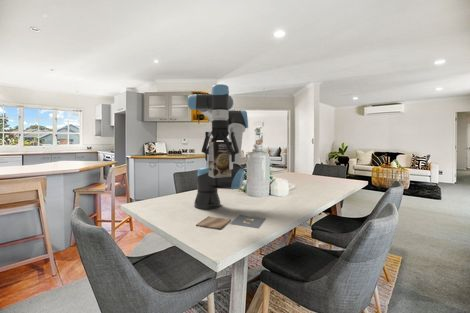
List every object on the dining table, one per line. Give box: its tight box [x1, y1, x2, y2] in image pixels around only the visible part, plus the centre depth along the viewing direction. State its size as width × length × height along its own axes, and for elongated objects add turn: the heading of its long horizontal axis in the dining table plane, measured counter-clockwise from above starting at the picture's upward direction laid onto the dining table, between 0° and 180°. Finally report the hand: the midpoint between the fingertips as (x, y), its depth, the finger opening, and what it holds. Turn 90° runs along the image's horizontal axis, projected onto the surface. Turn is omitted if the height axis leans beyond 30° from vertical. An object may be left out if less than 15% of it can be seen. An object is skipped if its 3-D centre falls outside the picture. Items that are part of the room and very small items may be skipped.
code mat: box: [229, 214, 267, 229], centre depth 112 cm, size 14×14×1 cm
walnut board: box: [195, 216, 232, 231], centre depth 109 cm, size 12×12×1 cm
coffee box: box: [208, 141, 232, 178], centre depth 107 cm, size 9×6×16 cm
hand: (219, 168), depth 107 cm, fingers closed on coffee box, 10 cm apart
